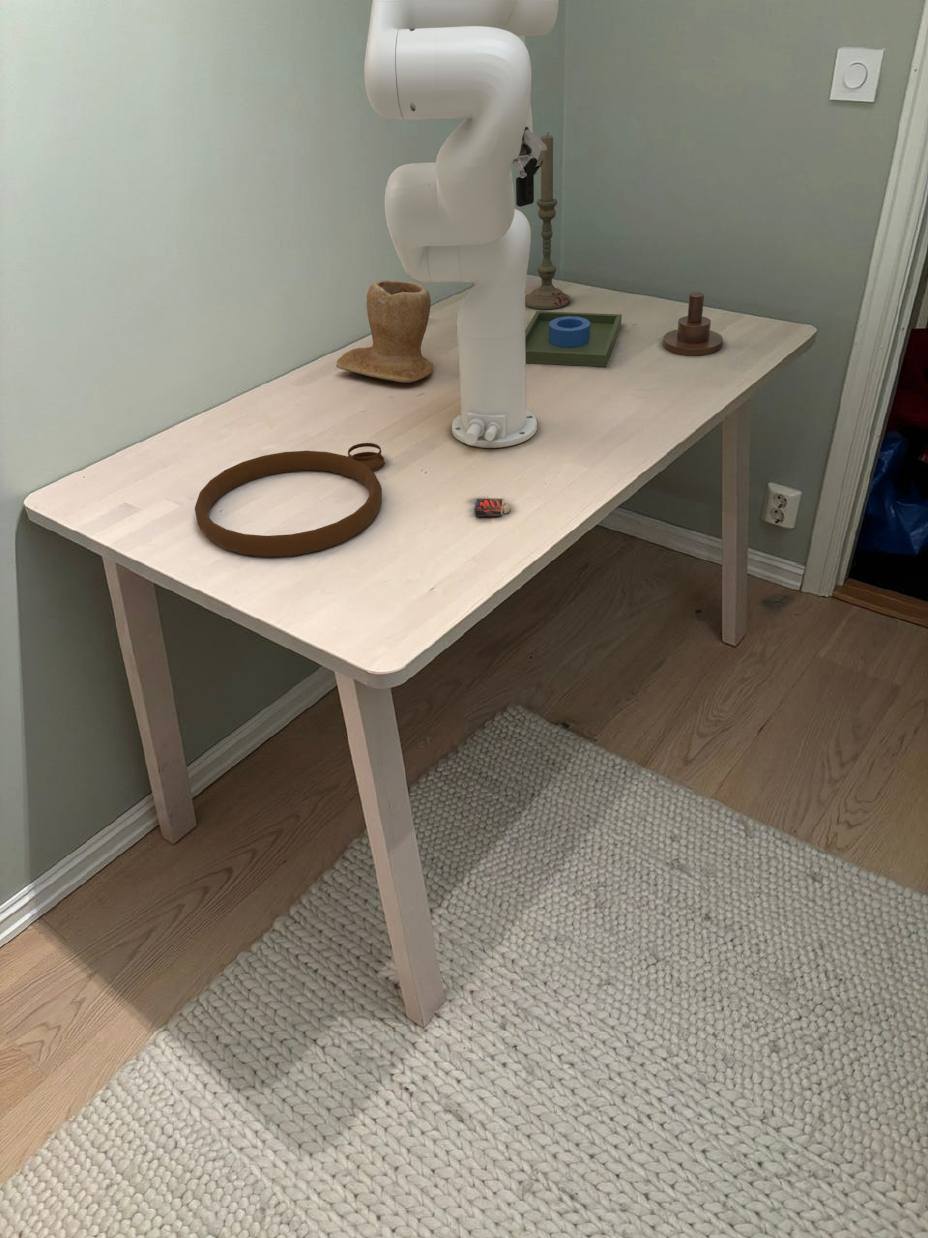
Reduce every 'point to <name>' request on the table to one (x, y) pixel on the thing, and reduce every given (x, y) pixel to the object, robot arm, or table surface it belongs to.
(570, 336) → the ring
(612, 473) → the table surface
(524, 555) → the table surface
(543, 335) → the tray
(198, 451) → the table surface
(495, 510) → the matchbox
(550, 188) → the candlestick holder
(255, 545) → the decorative ring
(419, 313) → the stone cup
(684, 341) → the stand
